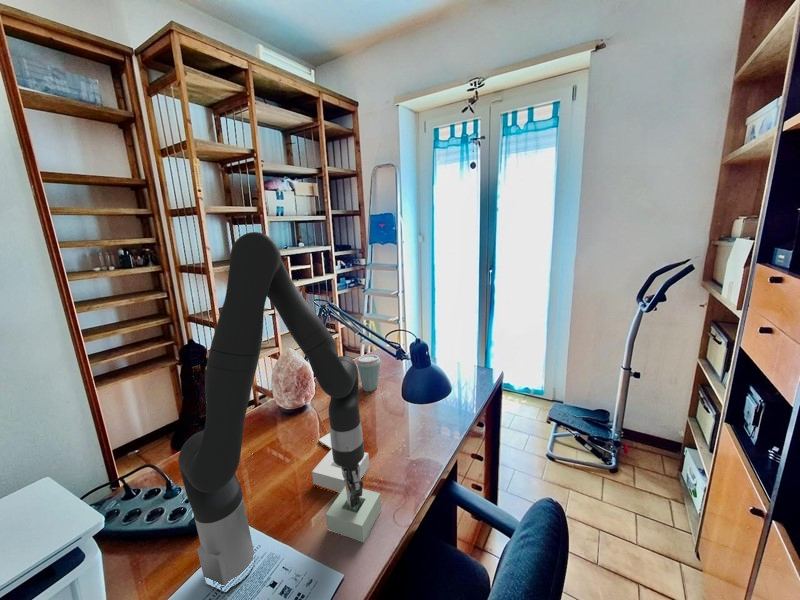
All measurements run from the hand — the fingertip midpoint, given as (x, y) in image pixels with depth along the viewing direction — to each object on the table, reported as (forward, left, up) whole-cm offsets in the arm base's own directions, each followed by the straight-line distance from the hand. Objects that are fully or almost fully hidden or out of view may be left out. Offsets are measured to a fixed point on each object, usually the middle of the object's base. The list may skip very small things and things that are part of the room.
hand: (353, 499), depth 85 cm
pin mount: (0, 0, -6) cm, 6 cm away
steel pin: (0, 0, -6) cm, 6 cm away
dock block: (+12, +11, -6) cm, 17 cm away
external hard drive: (+28, +22, -7) cm, 36 cm away
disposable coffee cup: (+63, +27, -6) cm, 69 cm away
